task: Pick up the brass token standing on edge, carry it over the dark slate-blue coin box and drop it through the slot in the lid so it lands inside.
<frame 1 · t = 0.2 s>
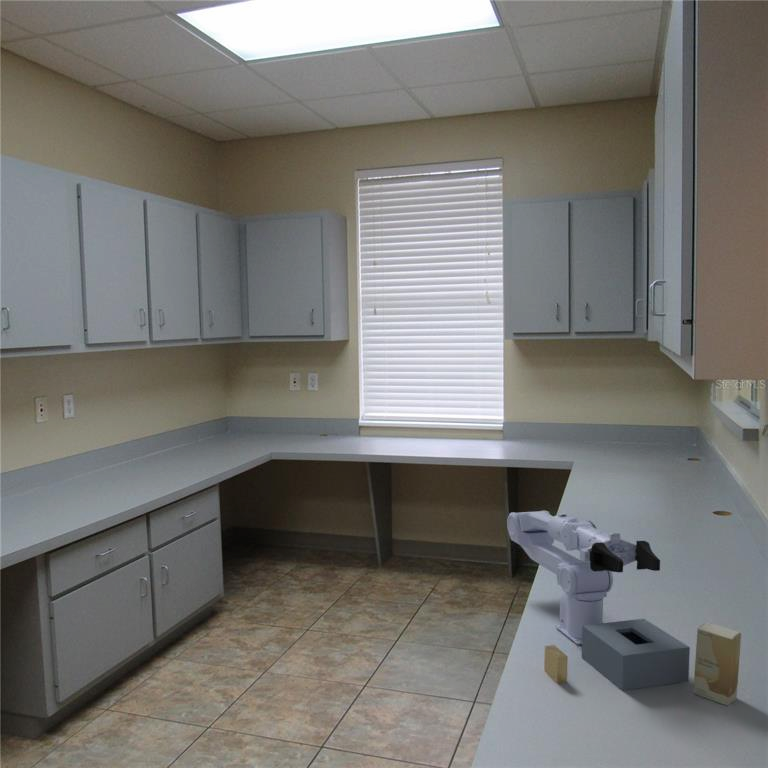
hand: (640, 566, 136), 21 cm above the worktop, tool horizontal, fingers open, 7 cm apart
slot box: (633, 668, 141), on the worktop
brass token: (555, 676, 138), on the worktop
skincare box: (715, 697, 131), on the worktop
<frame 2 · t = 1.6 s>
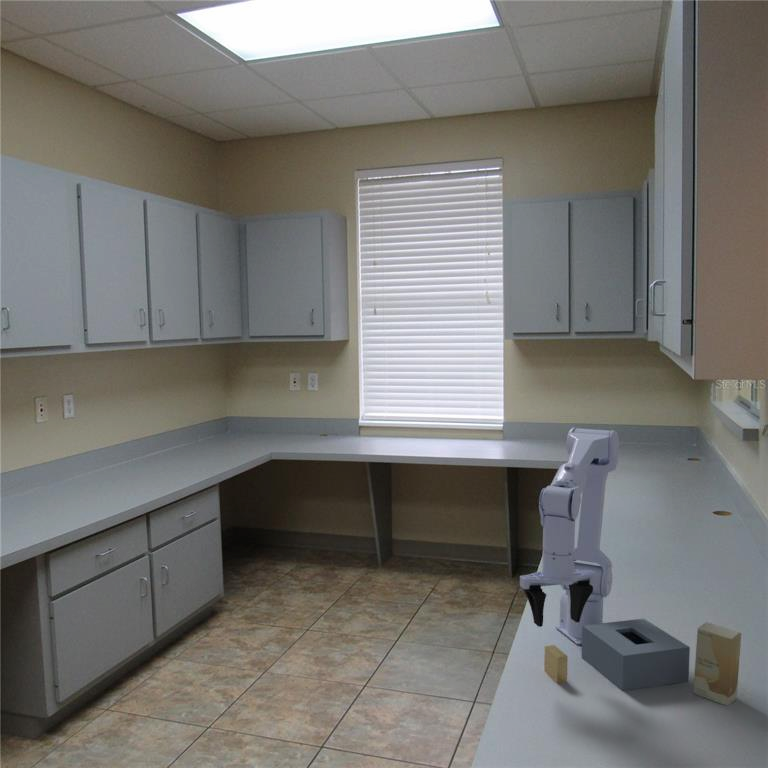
hand: (556, 622, 137), 10 cm above the worktop, tool pointing down, fingers open, 7 cm apart
nothing on the worktop moved.
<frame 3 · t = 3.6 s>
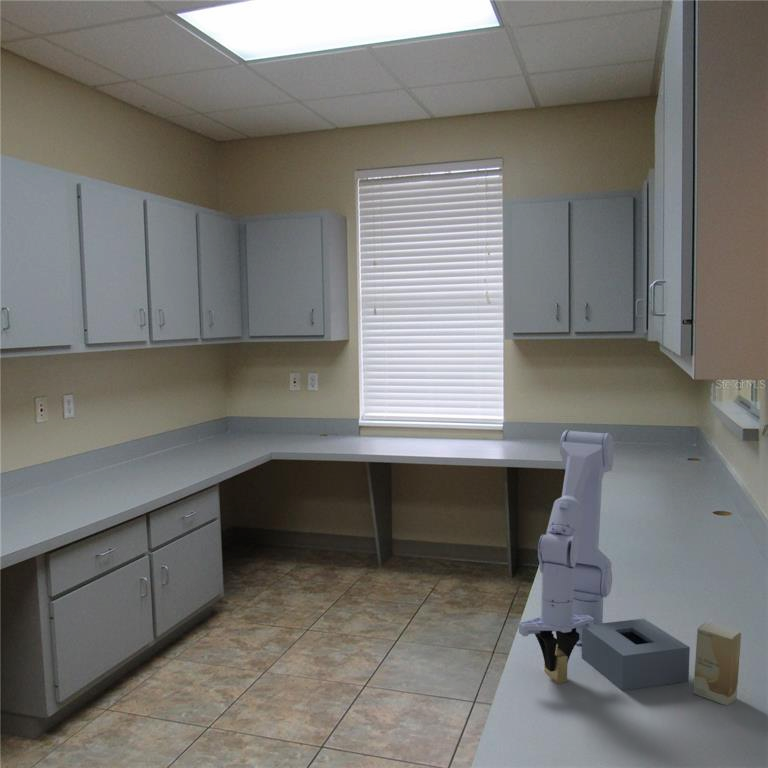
hand: (555, 668, 138), 2 cm above the worktop, tool pointing down, fingers closed on brass token, 2 cm apart
brass token: (555, 676, 138), on the worktop, touching gripper
everything else where it was.
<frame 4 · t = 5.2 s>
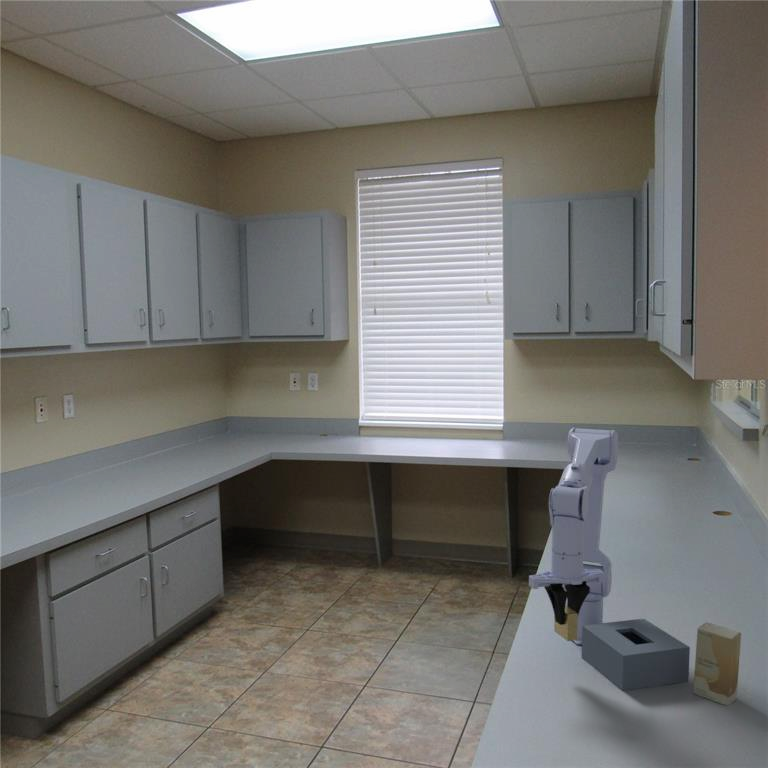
hand: (565, 622, 138), 10 cm above the worktop, tool pointing down, fingers closed on brass token
brass token: (565, 635, 138), point 8 cm above the worktop, touching gripper
everything else where it was.
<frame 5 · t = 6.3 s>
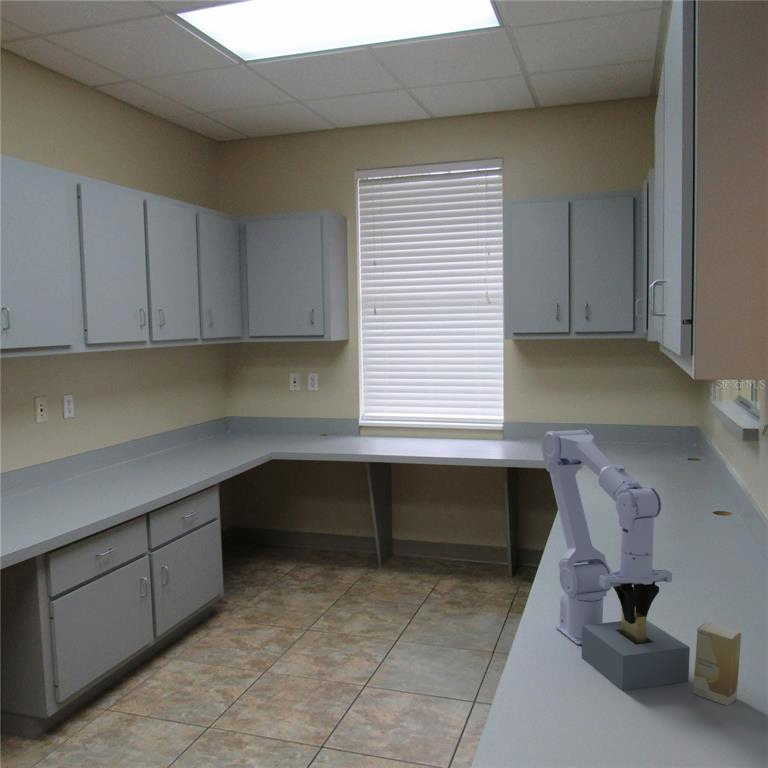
hand: (634, 621, 141), 9 cm above the worktop, tool pointing down, fingers closed on brass token
brass token: (633, 638, 141), point 6 cm above the worktop, touching gripper
everything else where it was.
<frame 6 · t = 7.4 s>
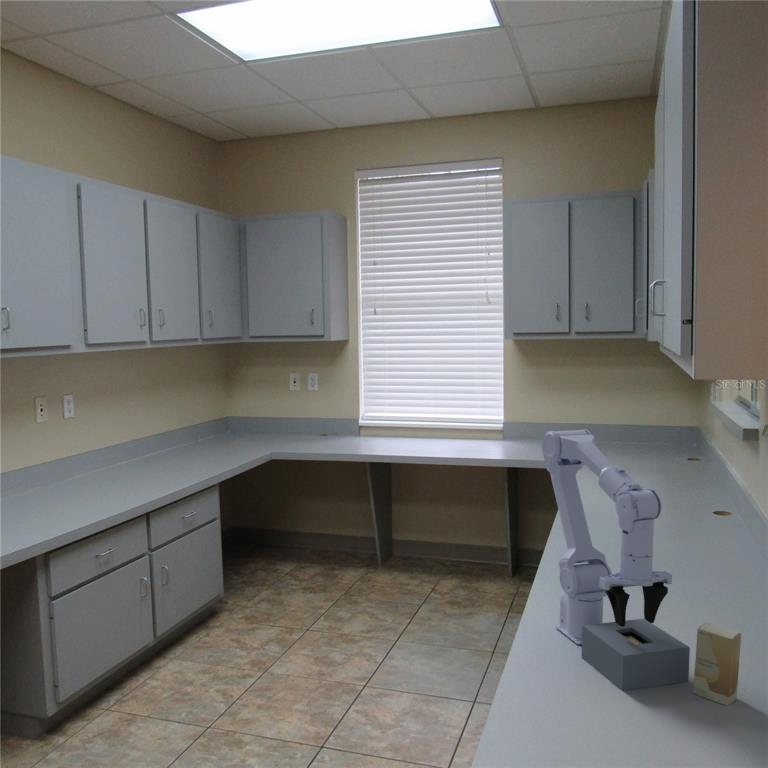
hand: (634, 622, 141), 9 cm above the worktop, tool pointing down, fingers open, 6 cm apart
brass token: (633, 667, 141), resting on slot box
everything else where it was.
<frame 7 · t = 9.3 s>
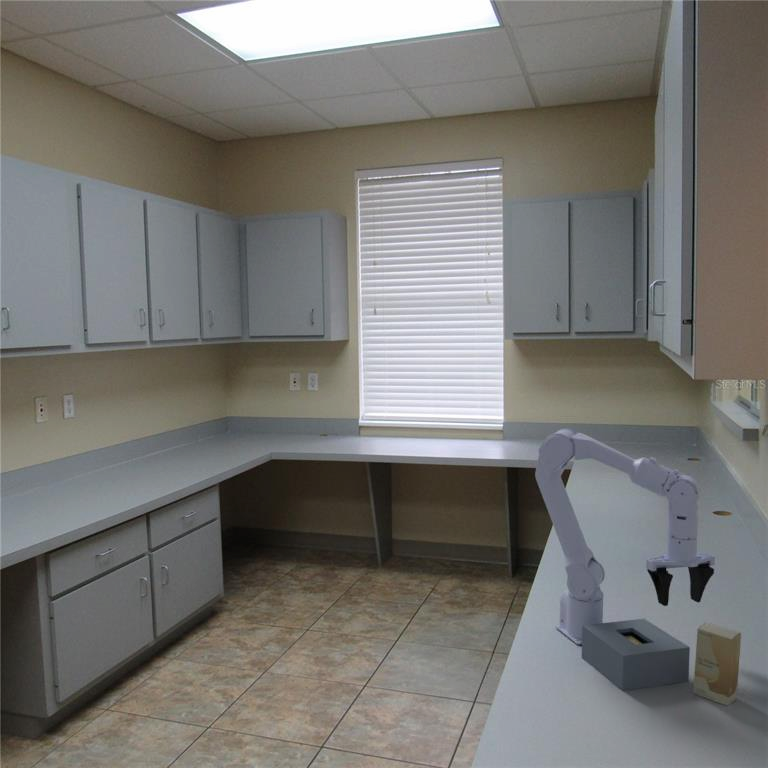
hand: (679, 602, 148), 10 cm above the worktop, tool pointing down, fingers open, 7 cm apart
nothing on the worktop moved.
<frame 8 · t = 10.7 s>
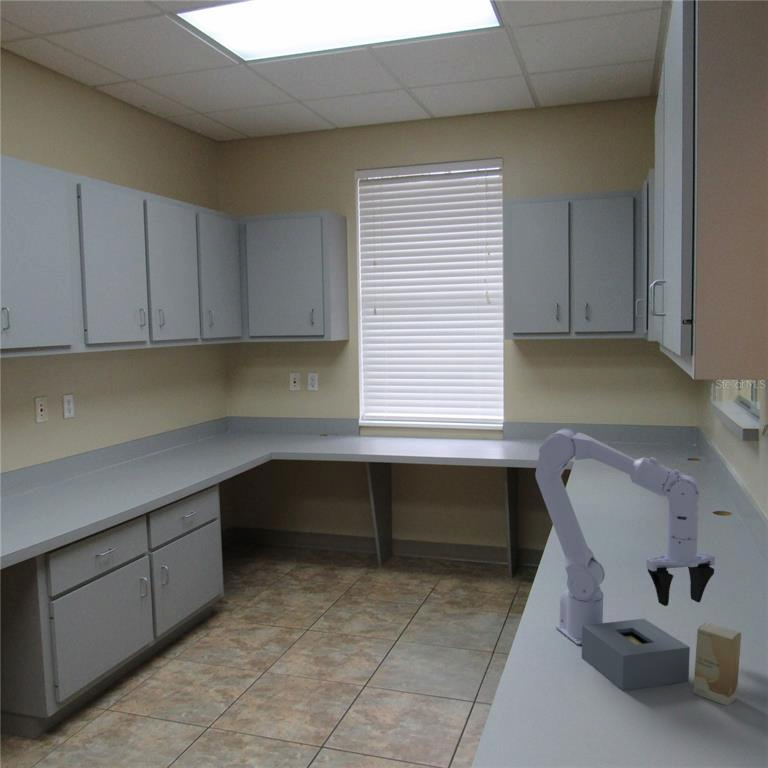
hand: (679, 602, 148), 10 cm above the worktop, tool pointing down, fingers open, 7 cm apart
nothing on the worktop moved.
at the end: brass token inside the target area on the slot box (0.0 cm from its centre), point 0.4 cm above the slot box's base; the gripper is holding nothing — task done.
